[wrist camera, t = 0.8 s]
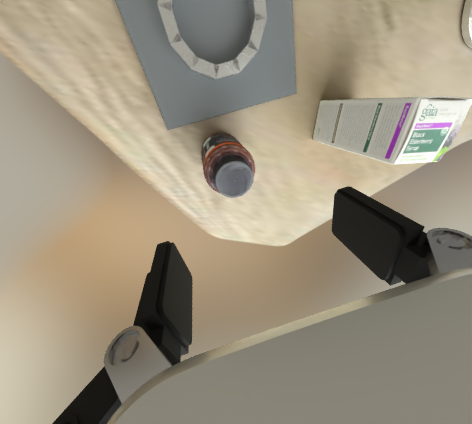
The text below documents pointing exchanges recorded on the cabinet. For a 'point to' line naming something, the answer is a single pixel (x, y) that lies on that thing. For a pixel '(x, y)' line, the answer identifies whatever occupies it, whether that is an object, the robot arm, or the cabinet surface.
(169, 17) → the ring collar
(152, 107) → the cabinet surface
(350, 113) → the syrup box
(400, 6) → the cabinet surface
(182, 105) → the rubber mat
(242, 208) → the cabinet surface
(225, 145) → the supplement bottle
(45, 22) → the cabinet surface
